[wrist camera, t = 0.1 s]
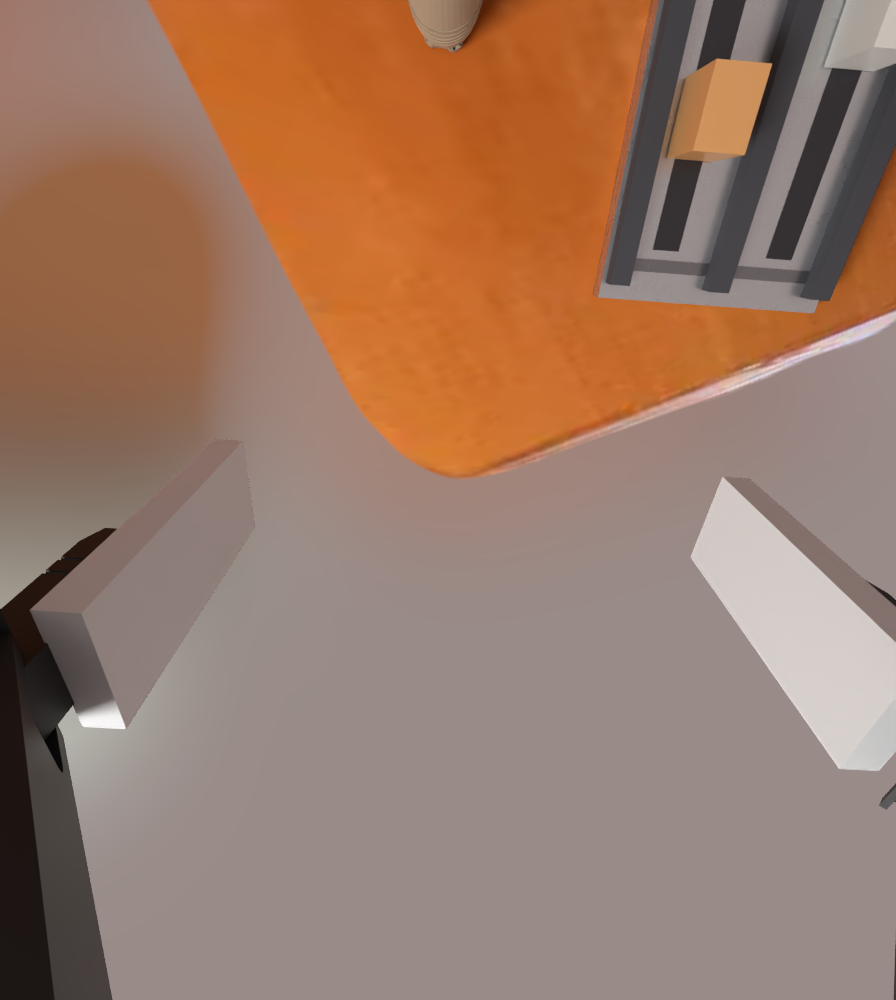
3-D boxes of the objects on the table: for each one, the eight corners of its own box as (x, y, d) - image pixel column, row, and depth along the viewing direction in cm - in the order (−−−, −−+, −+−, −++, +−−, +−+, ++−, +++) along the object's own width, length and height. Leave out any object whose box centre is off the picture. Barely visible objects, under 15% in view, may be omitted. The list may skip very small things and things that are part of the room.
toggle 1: (685, 77, 30) (716, 58, 26) (734, 81, 30) (772, 63, 26) (666, 158, 31) (692, 150, 28) (712, 161, 32) (744, 155, 28)
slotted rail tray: (686, -110, 26) (696, -124, 25) (974, -83, 26) (996, -95, 25) (605, 282, 35) (609, 284, 34) (818, 298, 36) (829, 300, 35)
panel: (675, -122, 27) (687, -141, 25) (962, -94, 27) (989, -111, 26) (592, 294, 37) (598, 297, 36) (801, 309, 38) (814, 313, 36)
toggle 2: (855, -28, 27) (914, -63, 24) (908, -23, 27) (975, -58, 24) (823, 67, 29) (873, 46, 26) (872, 71, 29) (929, 51, 26)
